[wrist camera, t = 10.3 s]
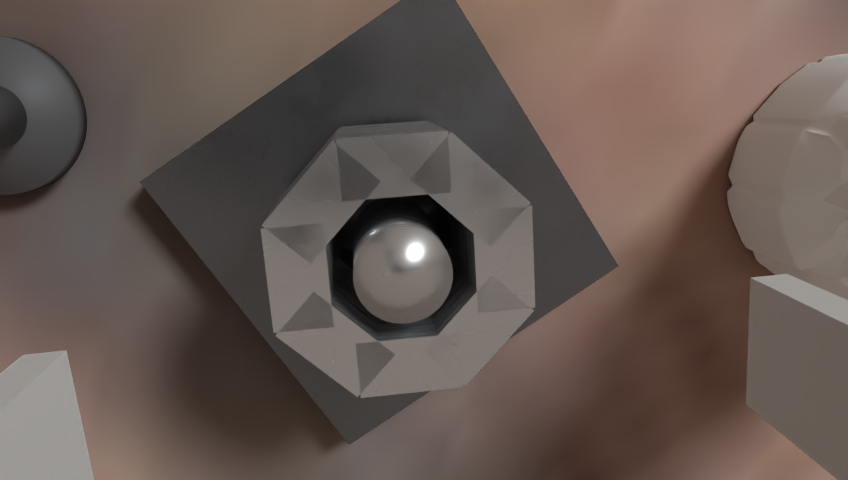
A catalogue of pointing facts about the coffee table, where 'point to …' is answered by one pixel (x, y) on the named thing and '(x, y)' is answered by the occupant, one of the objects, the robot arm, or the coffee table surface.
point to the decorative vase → (797, 178)
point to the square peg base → (383, 217)
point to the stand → (36, 118)
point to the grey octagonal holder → (333, 279)
